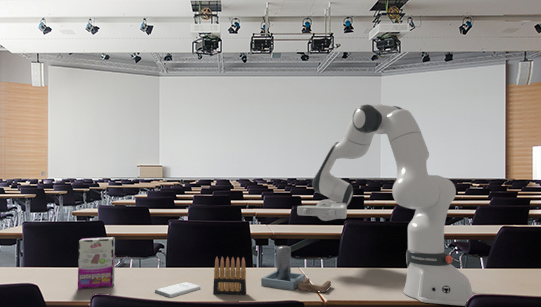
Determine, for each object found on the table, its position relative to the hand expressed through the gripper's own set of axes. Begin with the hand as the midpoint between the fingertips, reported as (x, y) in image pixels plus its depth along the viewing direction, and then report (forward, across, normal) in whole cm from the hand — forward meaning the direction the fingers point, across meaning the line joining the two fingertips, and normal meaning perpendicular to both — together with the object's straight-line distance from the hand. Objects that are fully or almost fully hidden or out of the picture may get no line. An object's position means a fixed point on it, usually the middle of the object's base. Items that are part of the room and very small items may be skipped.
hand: (316, 212), depth 150 cm
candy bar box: (+48, -64, +24) cm, 84 cm away
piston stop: (+16, -7, +23) cm, 29 cm away
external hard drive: (+39, -36, +25) cm, 58 cm away
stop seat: (+16, +5, +24) cm, 29 cm away
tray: (+16, -7, +24) cm, 30 cm away
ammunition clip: (+35, -18, +24) cm, 46 cm away
